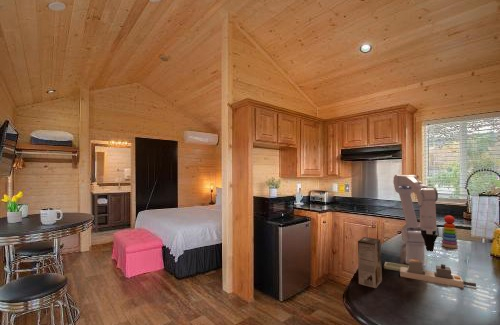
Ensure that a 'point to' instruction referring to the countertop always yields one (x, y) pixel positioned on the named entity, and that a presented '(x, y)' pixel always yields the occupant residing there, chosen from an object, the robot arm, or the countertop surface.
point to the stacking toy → (449, 233)
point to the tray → (394, 266)
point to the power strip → (435, 278)
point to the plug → (415, 266)
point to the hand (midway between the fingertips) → (429, 249)
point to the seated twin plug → (443, 271)
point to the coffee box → (369, 262)
